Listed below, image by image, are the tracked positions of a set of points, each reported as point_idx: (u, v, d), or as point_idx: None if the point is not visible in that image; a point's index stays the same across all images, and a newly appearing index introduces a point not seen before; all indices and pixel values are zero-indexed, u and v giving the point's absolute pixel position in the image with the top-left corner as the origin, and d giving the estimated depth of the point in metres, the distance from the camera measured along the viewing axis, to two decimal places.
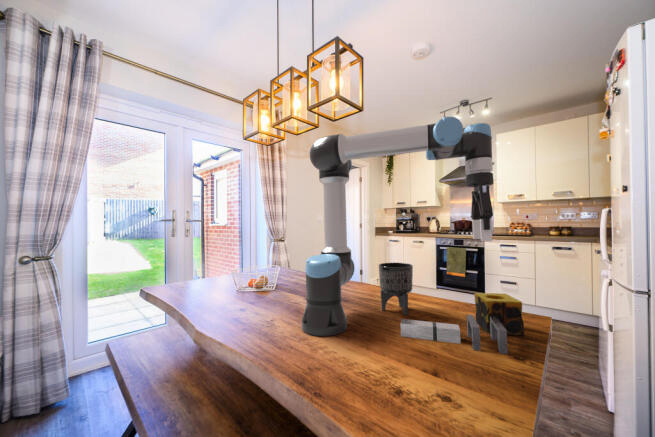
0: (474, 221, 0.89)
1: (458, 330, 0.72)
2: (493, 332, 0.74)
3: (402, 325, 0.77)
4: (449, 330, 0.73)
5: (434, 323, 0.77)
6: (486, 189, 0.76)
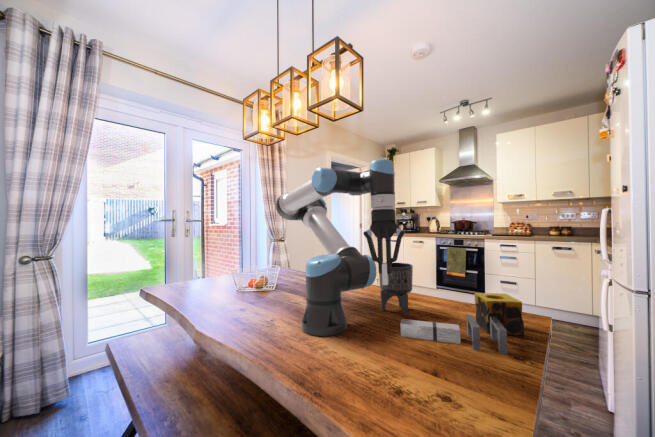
0: None
1: (458, 330, 0.72)
2: (493, 332, 0.74)
3: (402, 325, 0.77)
4: (449, 330, 0.73)
5: (434, 323, 0.77)
6: None
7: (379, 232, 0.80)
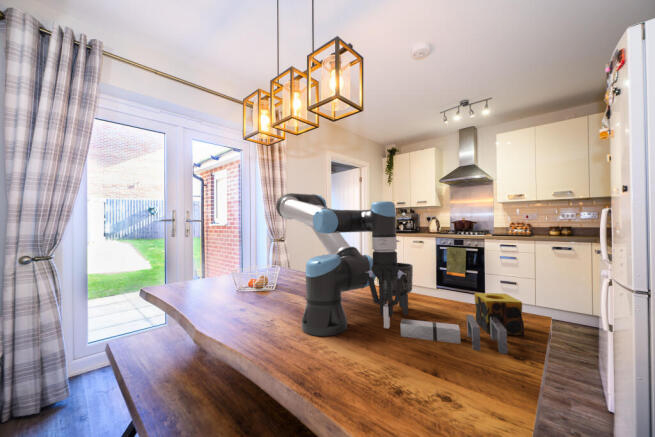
0: None
1: (458, 330, 0.72)
2: (493, 332, 0.74)
3: (402, 325, 0.77)
4: (449, 330, 0.73)
5: (434, 323, 0.77)
6: None
7: (380, 274, 0.80)
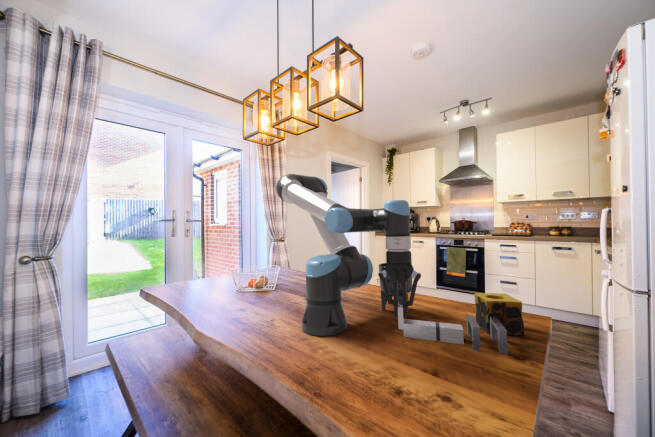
0: None
1: (461, 330, 0.72)
2: (493, 332, 0.74)
3: (405, 325, 0.77)
4: (452, 330, 0.73)
5: (437, 323, 0.77)
6: None
7: (395, 275, 0.78)
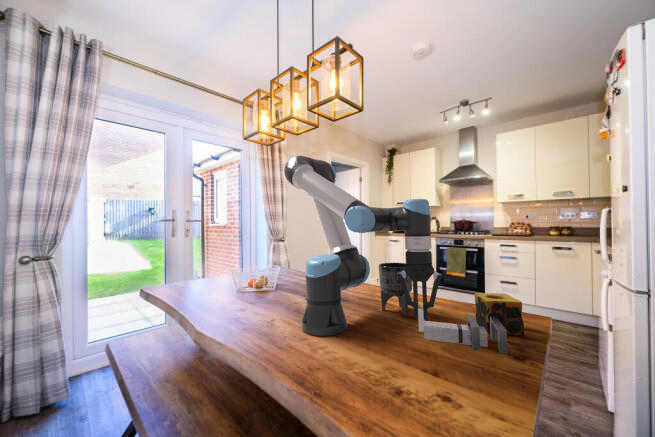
0: None
1: (485, 332, 0.70)
2: (493, 332, 0.74)
3: (426, 327, 0.75)
4: None
5: (459, 325, 0.75)
6: None
7: (415, 275, 0.76)
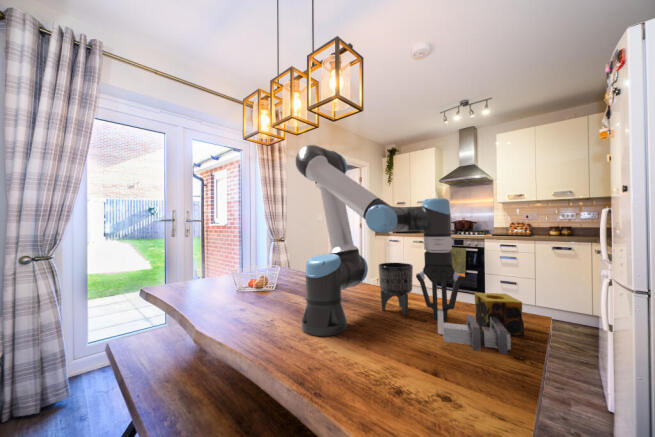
0: None
1: (508, 335, 0.68)
2: None
3: (446, 329, 0.73)
4: None
5: (480, 327, 0.73)
6: None
7: (435, 277, 0.75)
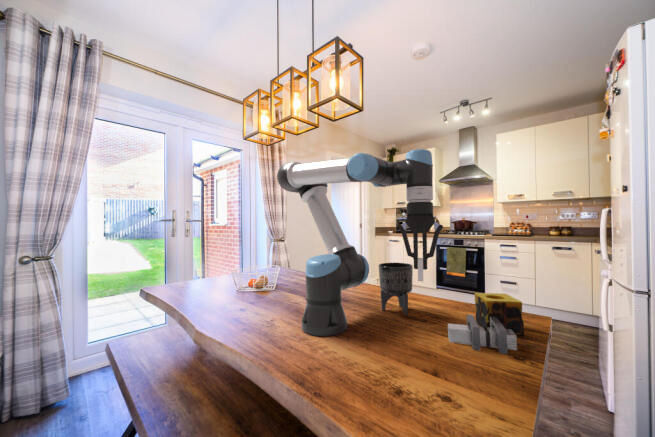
0: None
1: (514, 336, 0.68)
2: None
3: (451, 330, 0.73)
4: None
5: (485, 328, 0.73)
6: (399, 229, 0.80)
7: (415, 226, 0.77)
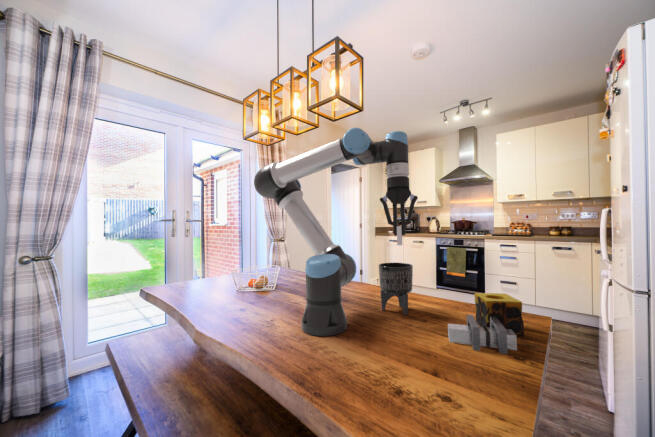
0: None
1: (514, 336, 0.68)
2: None
3: (451, 330, 0.73)
4: None
5: (485, 328, 0.73)
6: (381, 201, 0.92)
7: (394, 197, 0.89)
